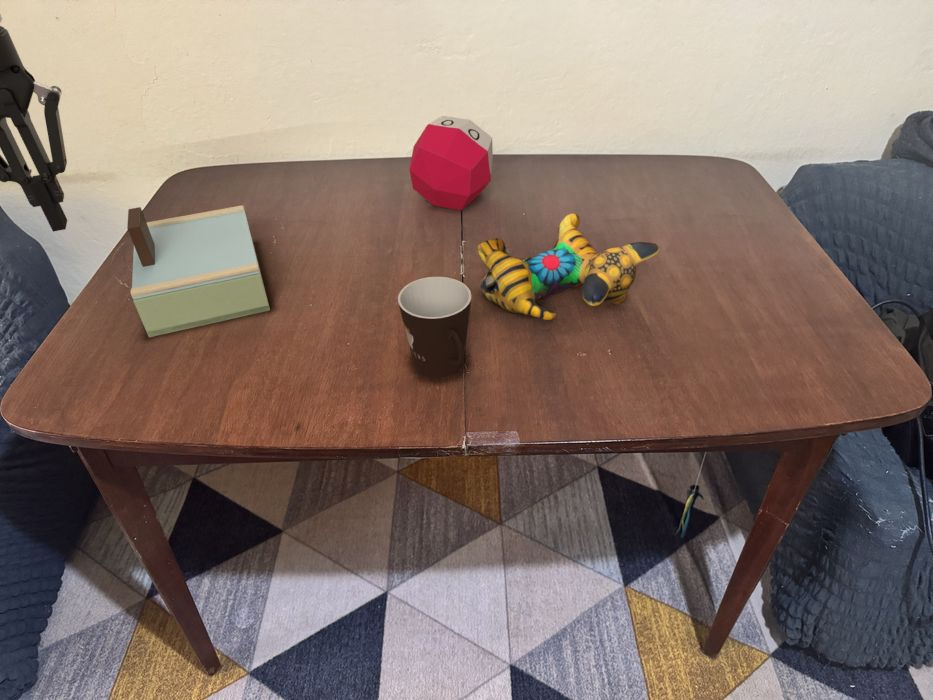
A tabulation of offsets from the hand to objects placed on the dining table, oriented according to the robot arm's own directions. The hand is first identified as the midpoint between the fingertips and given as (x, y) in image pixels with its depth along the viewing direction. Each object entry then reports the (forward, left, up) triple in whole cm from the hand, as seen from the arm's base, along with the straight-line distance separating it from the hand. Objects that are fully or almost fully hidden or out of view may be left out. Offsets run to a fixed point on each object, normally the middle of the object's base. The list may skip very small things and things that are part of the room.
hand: (60, 225), depth 84 cm
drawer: (+15, 0, -7) cm, 16 cm away
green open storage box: (+15, 0, -13) cm, 20 cm away
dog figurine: (+62, -24, -13) cm, 68 cm away
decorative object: (+59, +12, -13) cm, 62 cm away
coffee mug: (+41, -32, -13) cm, 53 cm away
